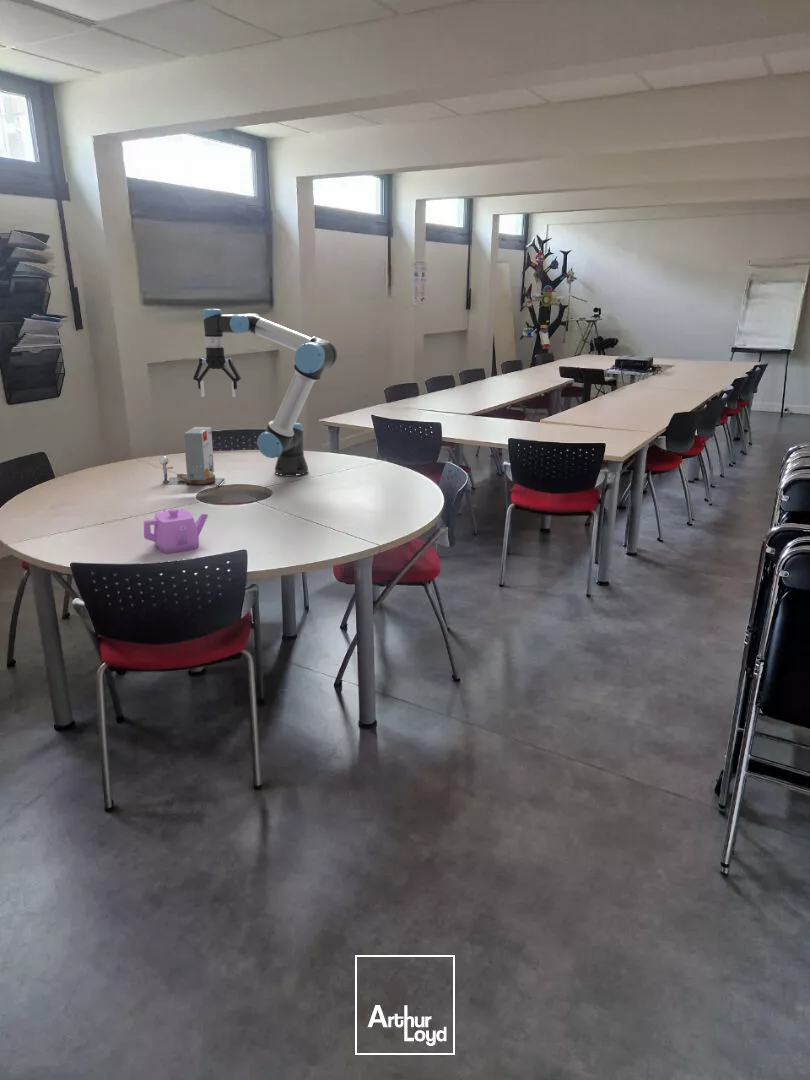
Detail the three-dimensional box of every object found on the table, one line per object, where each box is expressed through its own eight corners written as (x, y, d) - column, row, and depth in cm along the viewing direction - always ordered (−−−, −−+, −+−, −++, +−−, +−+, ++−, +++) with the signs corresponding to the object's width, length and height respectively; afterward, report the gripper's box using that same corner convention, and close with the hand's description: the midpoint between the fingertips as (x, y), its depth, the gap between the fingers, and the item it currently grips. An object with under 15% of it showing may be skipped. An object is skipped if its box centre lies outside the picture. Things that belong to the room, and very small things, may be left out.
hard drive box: (205, 481, 294) (201, 433, 287) (187, 480, 294) (182, 433, 287) (215, 471, 309) (211, 426, 302) (197, 471, 309) (193, 426, 302)
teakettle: (167, 534, 242) (164, 500, 238) (213, 539, 238) (210, 504, 234) (139, 551, 227) (134, 515, 222) (187, 557, 223) (183, 519, 219)
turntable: (219, 477, 307) (218, 470, 306) (209, 484, 296) (209, 477, 295) (183, 476, 308) (183, 469, 307) (172, 483, 297) (172, 476, 296)
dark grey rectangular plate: (224, 481, 308) (224, 478, 308) (217, 488, 297) (217, 485, 296) (171, 480, 308) (170, 477, 308) (161, 487, 297) (161, 484, 297)
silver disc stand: (161, 482, 299) (159, 457, 296) (161, 481, 301) (159, 456, 298) (174, 481, 301) (171, 456, 297) (174, 480, 303) (171, 455, 299)
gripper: (183, 347, 299) (187, 397, 306) (241, 347, 298) (244, 398, 306) (188, 345, 306) (192, 395, 313) (245, 346, 305) (248, 395, 313)
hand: (218, 396), depth 309 cm, fingers open, 13 cm apart
